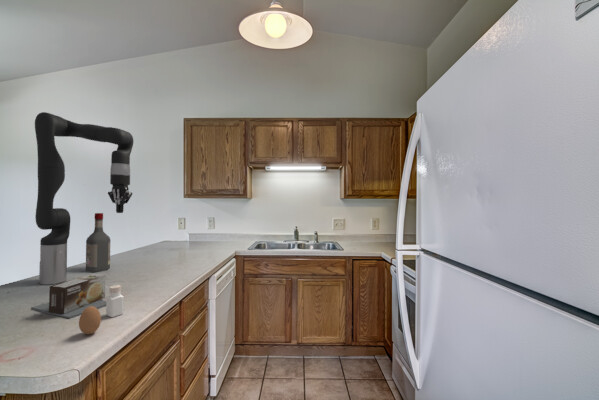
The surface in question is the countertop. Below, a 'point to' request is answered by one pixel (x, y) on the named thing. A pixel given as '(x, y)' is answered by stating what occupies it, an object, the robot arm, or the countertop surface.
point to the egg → (89, 320)
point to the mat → (70, 314)
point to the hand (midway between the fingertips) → (119, 212)
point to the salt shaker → (114, 302)
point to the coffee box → (76, 293)
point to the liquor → (98, 248)
